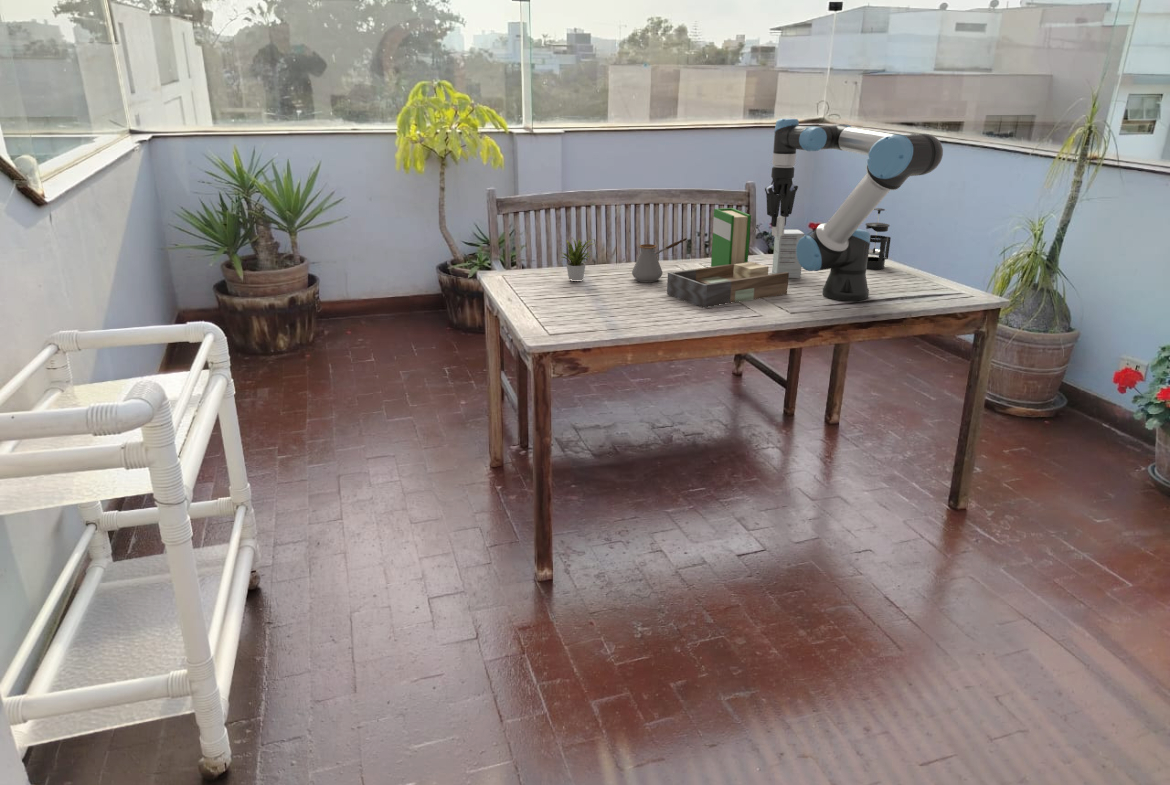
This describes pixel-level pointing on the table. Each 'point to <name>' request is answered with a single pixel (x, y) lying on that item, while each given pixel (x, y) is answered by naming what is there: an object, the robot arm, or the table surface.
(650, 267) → the coffee pot
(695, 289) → the tray
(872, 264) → the french press
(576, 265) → the house plant
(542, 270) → the table surface
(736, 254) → the hardback book
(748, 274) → the birch block
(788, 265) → the supplement box
